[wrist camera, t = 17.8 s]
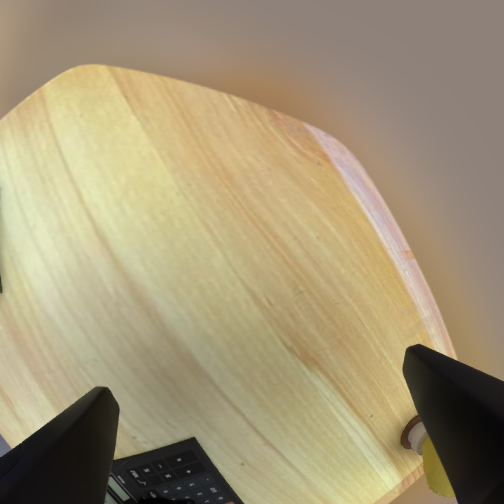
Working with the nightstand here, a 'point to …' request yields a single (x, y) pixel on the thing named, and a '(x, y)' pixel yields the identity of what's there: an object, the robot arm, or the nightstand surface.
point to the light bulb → (430, 461)
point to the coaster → (405, 434)
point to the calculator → (169, 477)
